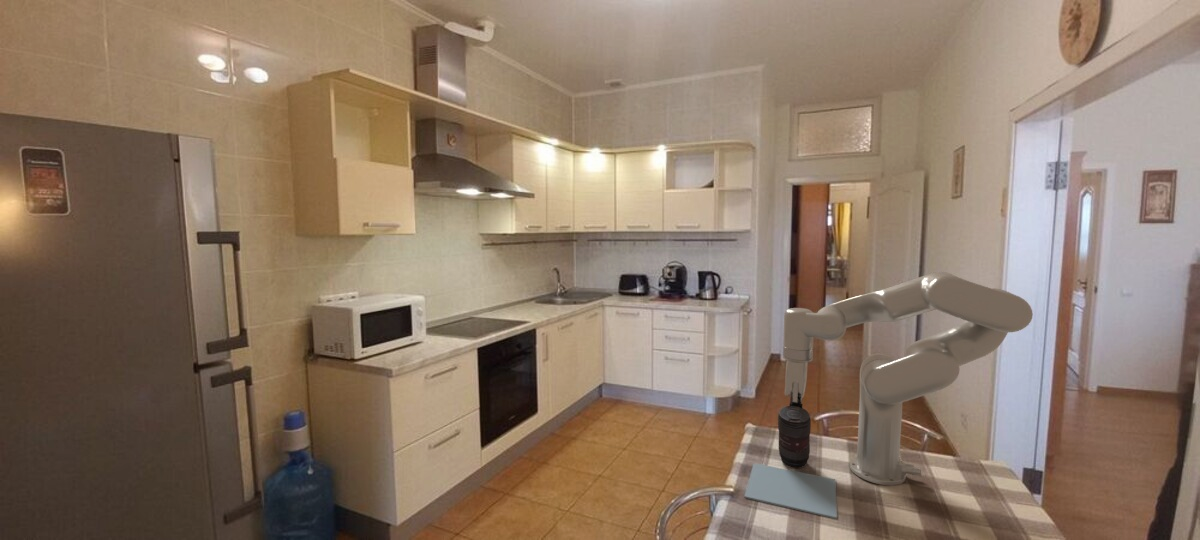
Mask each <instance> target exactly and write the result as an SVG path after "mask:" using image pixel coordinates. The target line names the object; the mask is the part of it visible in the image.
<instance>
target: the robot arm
mask: <svg viewBox="0 0 1200 540" xmlns="http://www.w3.org/2000/svg"><path fill="white" fill-rule="evenodd" d="M936 310H937V311H939V312H942V313H944V314H946V315H949V316H952V317H955V318H957V319H960V320H963V321H962V322H961V323H959V324H957V325H956V326H953V327H951V328H949V329H948V328H947V330H943V331H941V332H938V333H935V334H933V335H931V336H927V337H925V338H921V339H918V340H917V341H914V342H911V344H909V345H908V346H907V347H906V349H905V351H904V357H901V358H898V359H895V358H894V357H892V356H891V355H888V354H885V353H873V354H870V355H869V356H867V357H866V358H865V359H863V361H862V363H861V365H860V369H859V404H858V407H859V408H858V422H857V423H858V425H857V427H858V429H857V430H858V431H857V446H856V447H857V449H856V451H857V452H856V457H855V458H853V459H851V460H850V462H849V469H850V470H851V471H852V473H853V474H854V475H856V476H857V477H859V478H860V479H863V480H865V481H867V482H871V483H873V484H877V485H883V486H896V485H901V484H903V483H905V481H906V476H907V474H908V475H912V476H915V477H916V476H917V477H921V476H922V469H921V468H920V467H915V466H914V463H911V462H903V460H901V457H900V453H901V452H900V451H901V435H902V434H901V433H902V431H901V430H902V420H903V403H904V402H909V401H910V400H911V401H912V400H914V399H917V398H920V397H923V396H926V395H930V394H933V393H935V392H938V391H941V390H943V389H946V388H947V387H949V386H951V385H952V384H953V383H954V382H955V381H956V380H957V378H958V377H959V374H960V367H961V366H963V365H966V364H968V363H970V362H973V361H976V360H979V359H980V358H984V357H986V356H987V355H990V354H991V353H992V352H994V351H996V350H997V349H998V348H999V347H1000V345H1001V344H1002V343H1003V342H1004V340H1005V339H1006V337H1007V335H1008V333H1016V332H1019V331H1021V330H1022V331H1023V330H1024V329H1025V328H1026V327H1028V326H1029V325H1030V323H1031V322H1032V319H1033V309H1032V306H1031V305H1030V304H1029V303H1028V302H1027V300H1025V299H1024V298H1022V297H1021V296H1019V295H1016V294H1014V293H1012V292H1009V291H1007V290H1004V289H1001V288H991V287H988V286H985V285H981V284H978V283H975V282H972V281H969V280H966V279H964V278H961V277H958V276H957V275H954V274H951V273H950V272H946V271H936V272H931V273H929V274H925V275H923V276H919V277H916V278H914V279H910V280H907V281H903V282H902V283H898V284H896V285H892V286H890V287H886V288H883V289H880V290H876V291H871V292H869V293H866V294H860V295H856V296H854V297H849V298H847V299H844V300H839V301H837V302H834V303H830V304H829V305H826V306H823V307H821V308H820V309H819V310H818V311H817V312H813V311H812V310H811V309H808V308H803V307H793V308H792V307H791V308H790V307H789V308H788V309H786V310H785V311H784V314H783V316H784V317H783V343H782V345H783V346H782V358H783V359H784V360H786V364H785V365H786V366H785V378H784V381H785V382H784V395H785V396H786V397H787V396H790V397H789V398H790V401H789V406H797V407H800V408H803V402H802V401H803V398H804V396H805V392H806V386H807V381H808V380H807V378H808V366H809V365H808V363H810V362H813V358H814V357H813V354H814V338H815V339H818V340H819V339H820V340H823V341H828V342H829V341H830V342H831V341H837V340H840V339H841V338H843V337H844V335H846V331H847V328H850V327H854V326H857V325H862V324H866V323H873V322H880V323H895V322H899V321H903V320H906V319H910V318H912V317H915V316H919V315H921V314H925V313H929V312H932V311H936Z"/></svg>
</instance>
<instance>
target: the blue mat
mask: <svg viewBox="0 0 1200 540" xmlns="http://www.w3.org/2000/svg"><path fill="white" fill-rule="evenodd" d="M836 483H837V482H836V479H835V478H831V477H827V476H819V475H816V474H810V473H806V472H800V471H795V470H790V469H786V468H780V467H776V466H770V465H767V464H766V465H764V464H761V463H756V462H753V465H752V469H751V471H750V475H749V479H748V481H747V485H746V489H745V493H744V496H743V497H744V499H749V500H753V501H757V502H760V503H761V502H762V503H767V504H768V505H769V504H770V505H775V506H778V507H784V508H788V509H793V510H797V511H799V512H800V511H801V512H805V513H808V514H813V515H818V516H822V517H826V518H831V519H835V520H837V519H838V510H837V508H838V507H837V490H836V489H837V487H836V486H837V485H836Z"/></svg>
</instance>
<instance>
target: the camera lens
mask: <svg viewBox="0 0 1200 540" xmlns="http://www.w3.org/2000/svg"><path fill="white" fill-rule="evenodd" d="M811 421H812V420H811V415H810V413H809V411H808V410H806V409H805V408H804V407H802V408H800V407H797V406H790V405H786V406H782V407H781V408H780V409H779V412H778V413H777V429H778V454H779V457H780V460H781V461H782V464H784V465H785V466H787V467H789V468H791V469H792V468H793V469H801V468H805V466H806V465H807V464H808V461H809V459H810V450H811V447H810V441H811V439H810V435H811Z"/></svg>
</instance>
